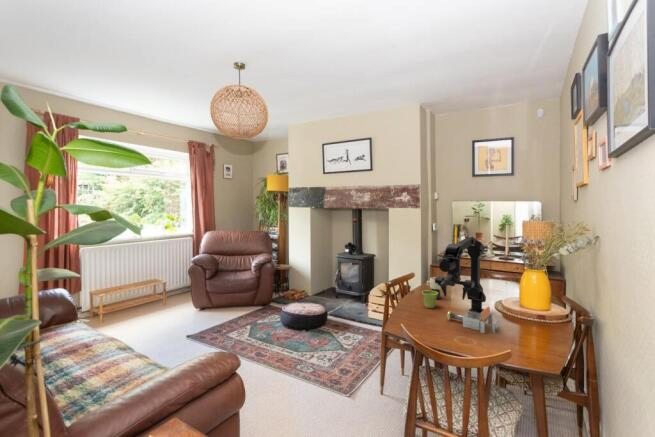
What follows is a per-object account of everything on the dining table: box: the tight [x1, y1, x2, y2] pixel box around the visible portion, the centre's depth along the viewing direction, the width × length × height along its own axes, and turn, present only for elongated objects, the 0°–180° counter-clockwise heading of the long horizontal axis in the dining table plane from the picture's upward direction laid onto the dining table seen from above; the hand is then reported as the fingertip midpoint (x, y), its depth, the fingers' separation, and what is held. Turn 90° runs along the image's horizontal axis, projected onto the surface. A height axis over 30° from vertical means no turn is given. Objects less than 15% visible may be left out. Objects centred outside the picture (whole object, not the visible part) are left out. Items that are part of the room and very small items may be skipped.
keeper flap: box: [481, 306, 491, 322], centre depth 165 cm, size 12×5×1 cm
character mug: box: [426, 276, 442, 300], centre depth 215 cm, size 11×7×13 cm, turn 74°
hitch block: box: [462, 311, 499, 334], centre depth 167 cm, size 14×14×6 cm
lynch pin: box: [446, 310, 464, 322], centre depth 173 cm, size 4×13×4 cm, turn 49°
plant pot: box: [421, 289, 438, 309], centre depth 199 cm, size 9×9×9 cm
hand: (454, 298), depth 172 cm, fingers open, 9 cm apart
